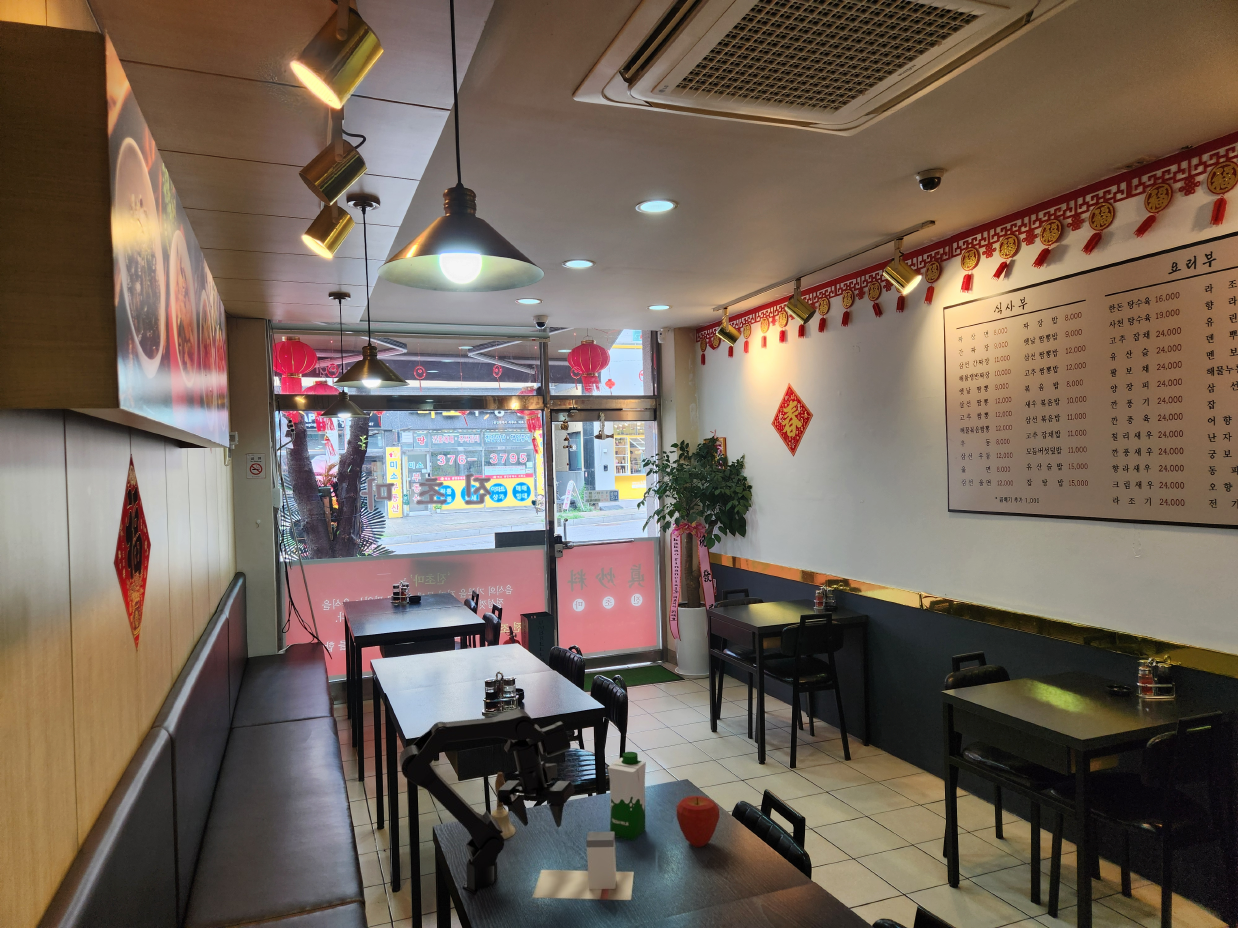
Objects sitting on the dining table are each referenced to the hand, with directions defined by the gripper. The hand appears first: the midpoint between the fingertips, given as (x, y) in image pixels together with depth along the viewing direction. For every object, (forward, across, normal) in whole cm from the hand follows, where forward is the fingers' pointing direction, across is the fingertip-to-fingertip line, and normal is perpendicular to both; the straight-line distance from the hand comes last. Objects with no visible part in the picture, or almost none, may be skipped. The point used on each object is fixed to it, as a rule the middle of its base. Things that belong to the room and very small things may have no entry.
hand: (542, 825), depth 184 cm
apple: (+20, -27, -26) cm, 42 cm away
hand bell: (+10, +23, -12) cm, 28 cm away
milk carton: (+17, -8, -25) cm, 31 cm away
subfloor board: (+12, -10, +4) cm, 17 cm away
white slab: (+12, -14, +2) cm, 19 cm away
